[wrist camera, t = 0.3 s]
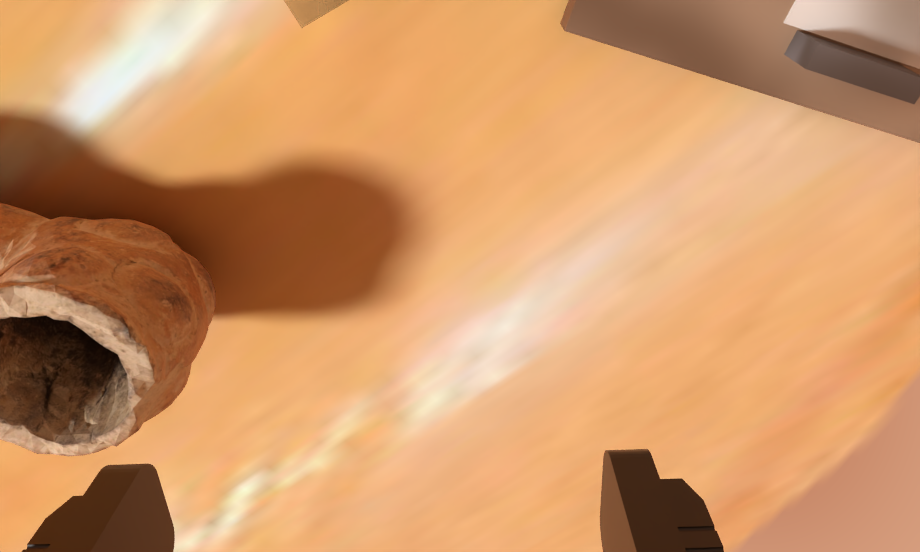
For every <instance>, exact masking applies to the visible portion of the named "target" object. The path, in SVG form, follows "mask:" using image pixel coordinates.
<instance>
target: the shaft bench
mask: <svg viewBox="0 0 920 552" xmlns="http://www.w3.org/2000/svg"><path fill="white" fill-rule="evenodd" d="M560 24H561V25H562V27H563V29H564V31H567V32H570V33H573V34H576V35H579V36H582V37H586V38H589V39H592V40H595V41H598V42H601V43H605V44H608V45H611V46H614V47H617V48H620V49H624V50H627V51H630V52H633V53H636V54H640V55H643V56H646V57H649V58H652V59H655V60H659V61H662V62H665V63H668V64H671V65H674V66H678V67H681V68H684V69H687V70H690V71H693V72H697V73H700V74H703V75H706V76H709V77H712V78H716V79H719V80H722V81H725V82H728V83H731V84H735V85H738V86H741V87H744V88H747V89H750V90H754V91H757V92H760V93H763V94H766V95H769V96H773V97H776V98H779V99H782V100H785V101H788V102H792V103H795V104H798V105H801V106H804V107H807V108H811V109H814V110H817V111H820V112H823V113H826V114H830V115H833V116H836V117H839V118H842V119H845V120H849V121H852V122H855V123H858V124H861V125H864V126H868V127H871V128H874V129H877V130H880V131H883V132H887V133H890V134H893V135H896V136H899V137H903V138H906V139H909V140H912V141H915V142H918V143H920V0H569V2H568V4H567V7H566V10H565V12H564V15H563V18H562V21H561V23H560Z"/></svg>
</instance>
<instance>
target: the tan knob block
mask: <svg viewBox="0 0 920 552" xmlns="http://www.w3.org/2000/svg"><path fill="white" fill-rule="evenodd" d="M284 1H285V3H286V4H287V6H288V7H289V9H290V10H291V12H292V13H293V15H294V17H295V18H296V20H297V21H298V23H299V24H300V26H301V27H302V28H303V27H304V26H306V25H308V24H310V23H311V22H313V21H315V20H316V19H318V18H320V17H321V16H323V15H325V14H326V13H328V12H330V11H331V10H333V9H335V8H336V7H338V6H340V5H341V4H343V3H345V2H347V1H348V0H284Z"/></svg>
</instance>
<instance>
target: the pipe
mask: <svg viewBox="0 0 920 552" xmlns="http://www.w3.org/2000/svg"><path fill="white" fill-rule="evenodd" d="M215 306H216V300H215V289H214V286H213V283H212V280H211V277H210V274H209V273H208V271H207V270H206V269H205V268H204V267H203V266H202V264H201V263H200V262H199V261H198V260H197V259H196V258H194V257H193V256H191V255H189V254H188V253H186V252H184V251H183V250H181V249H180V247H179V246H178V244H175V243H173V241H172V239H171V238H170V236H169V235H168V234H166V233H165V232H163V231H161V230H159V229H157V228H155V227H153V226H151V225H148V224H145V223H142V222H138V221H135V220H128V219H112V218H109V219H97V220H90V219H83V218H76V217H65V216H63V217H57V218H54V219H51V220H50V219H48V218H45V217H43V216H41V215H38V214H36V213H33V212H30V211H27V210H24V209H21V208H18V207H14V206H11V205H8V204H3V203H0V439H1V440H3V441H7V442H11V443H14V444H16V445H18V446H21V447H23V448H25V449H28V450H30V451H32V452H35V453H37V454H55V455H63V456H79V455H86V454H91V453H95V452H98V451H101V450H103V449H106V448H108V447H110V446H112V445H113V446H118V445H119V444H120V443H122V442H123V441H124V440H126V439H127V438H128V437H130V436H131V435H133V434H134V433H135V432H137V431H138V430H139V429H140V427H141V426H142V424H143V423H144V422H146V421H147V420H149V419H151V418H153V417H154V416H156V415H157V414H159V413H160V412H162V411H163V410H164V409H166V408H167V407H168V406H170V405H171V404H172V403H173V401H174V400H175V399H176V398H177V396H178V395H179V394H180V393H181V391H182V390H183V388H184V387H185V385H186V383H187V380H188V377H189V374H190V369H191V363H192V362H193V360H194V359H195V357H196V356H197V354H198V352H199V350H200V348H201V346H202V344H203V342H204V340H205V337H206V334H207V331H208V326H209V324H210V323H211V320H212V317H213V313H214V309H215Z"/></svg>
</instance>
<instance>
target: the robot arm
mask: <svg viewBox="0 0 920 552" xmlns="http://www.w3.org/2000/svg"><path fill="white" fill-rule="evenodd" d="M600 529H601V540H602V547H603V552H724V551H723V545H722V543H721V540H720V538H719V536H718V533H717V531H715V529H714V524H713V522H712V519H711V517H710V515H709V512H708V510H707V508H706V505H705V503H704V500H703V499H702V498H701V497H700V496H699V495H698V494H697V493H696V492H695V491H694V490H693V489H692V488H691V487H690V486H689V485H688V484H687V483H686V482H685V481H684V480H683V479H660V478H659V475H658V472H657V469H656V467H655V464H654V461H653V458H652V456H651V453H650V452H649V450H648V449H636V450H606V451H605V453H604V459H603V474H602V491H601V508H600ZM173 549H174V527H173V523H172V520H171V516H170V513H169V510H168V507H167V503H166V500H165V497H164V493H163V490H162V487H161V484H160V480H159V477H158V474H157V471H156V469H155V467H154V466H153V465H151V464H128V465H107V466H105V467H104V468H102V469H101V470H100V472H99V473H98V475H97V476H96V477H95V479H94V480H93V482H92V483H91V485H90V486H89V488H88V489H87V491H86V492H85V494H84V495H83V496H73V497H71V498H70V499H69V500H68V501H67V502H65V503H64V504H63V505H62V506H61V507H59V508H58V509H57V510H56V511H54V512H53V513H52V514H51V515H50V516H48V517H47V518H46V519H45V520H44V522H43V523H42V524H41V526H40V527H39V529H38V530H37V532H36V533H35V534H34V536H33V537H32V539H31V540H30V541H29V543H28V544H27V549H26V550H23V551H22V552H173Z"/></svg>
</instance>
